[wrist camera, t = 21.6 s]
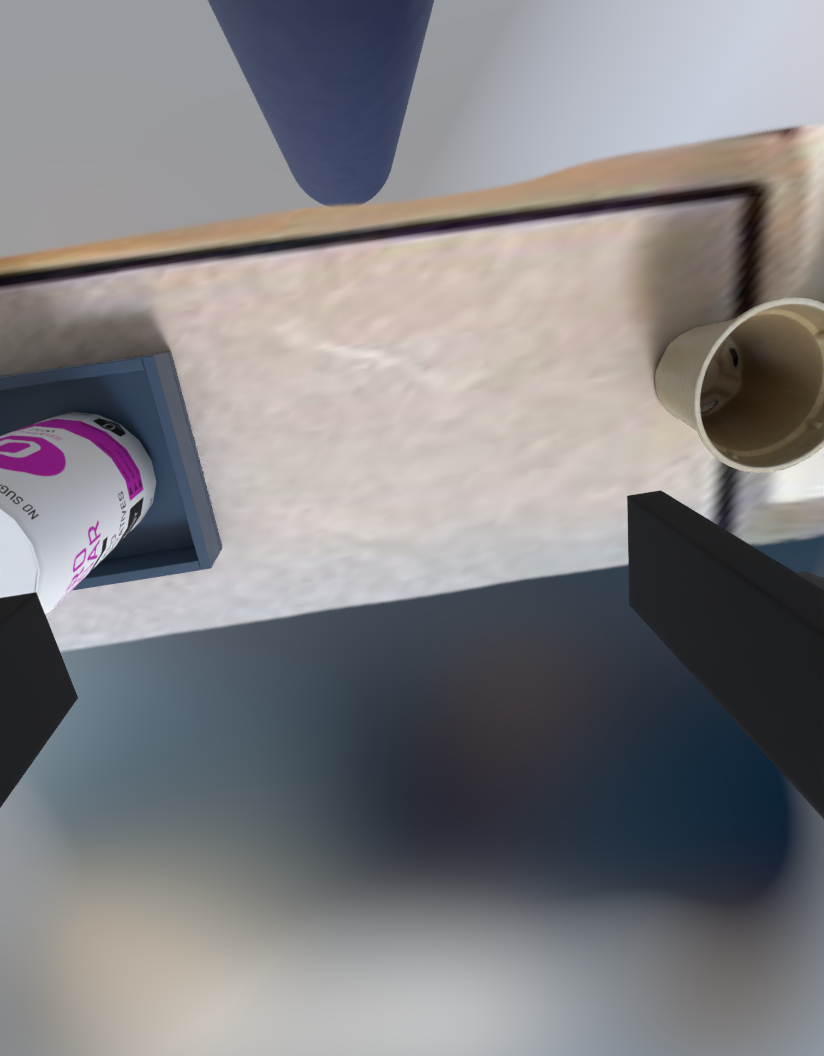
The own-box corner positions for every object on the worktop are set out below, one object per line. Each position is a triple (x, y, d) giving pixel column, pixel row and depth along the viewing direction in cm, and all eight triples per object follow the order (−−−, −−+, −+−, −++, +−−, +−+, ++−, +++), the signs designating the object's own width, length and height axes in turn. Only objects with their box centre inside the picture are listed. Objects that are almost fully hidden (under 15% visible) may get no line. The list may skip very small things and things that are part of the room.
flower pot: (600, 381, 42) (660, 399, 33) (706, 266, 40) (796, 256, 31) (689, 468, 44) (763, 505, 36) (791, 364, 42) (894, 379, 34)
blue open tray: (171, 351, 39) (153, 355, 35) (222, 548, 43) (211, 568, 40) (-47, 382, 38) (-86, 390, 35) (29, 578, 43) (1, 601, 39)
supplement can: (20, 404, 38) (-175, 462, 24) (158, 417, 39) (48, 480, 25) (31, 527, 41) (-139, 643, 27) (160, 537, 42) (62, 654, 28)
